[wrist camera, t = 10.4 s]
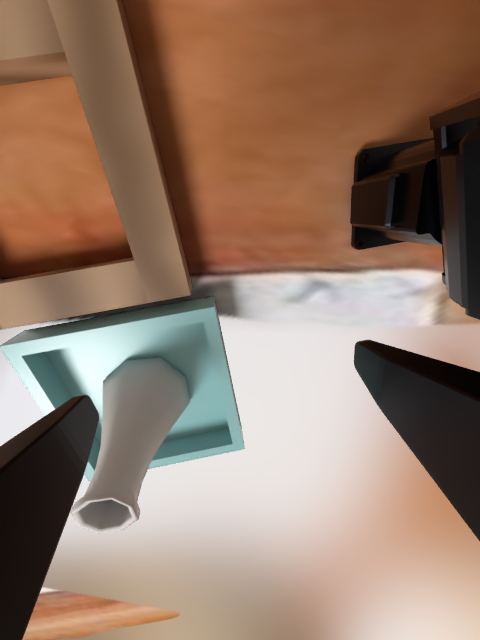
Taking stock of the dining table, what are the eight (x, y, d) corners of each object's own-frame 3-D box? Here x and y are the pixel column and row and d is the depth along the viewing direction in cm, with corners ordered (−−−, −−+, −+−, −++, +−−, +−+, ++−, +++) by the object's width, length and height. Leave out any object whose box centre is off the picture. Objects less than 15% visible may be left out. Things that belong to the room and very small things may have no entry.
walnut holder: (118, -14, 12) (103, -53, 10) (192, 287, 19) (190, 295, 17) (-214, 29, 12) (-294, -5, 10) (-17, 325, 18) (-42, 337, 16)
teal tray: (214, 295, 19) (214, 307, 17) (241, 428, 26) (244, 448, 23) (24, 330, 19) (-2, 346, 16) (100, 457, 25) (89, 481, 23)
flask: (165, 342, 20) (128, 450, 11) (203, 402, 23) (198, 526, 14) (88, 375, 20) (-10, 504, 11) (135, 429, 23) (87, 566, 14)
